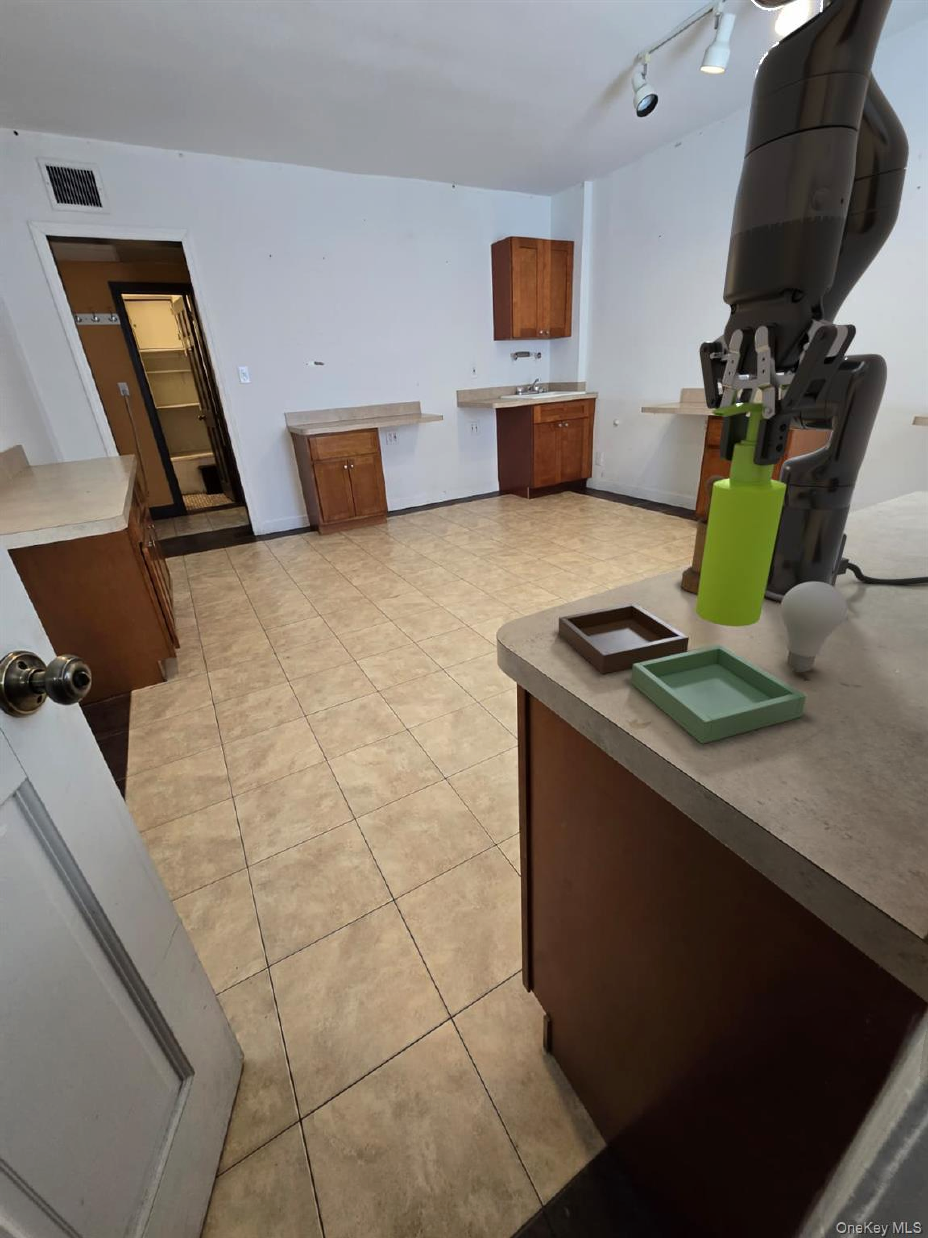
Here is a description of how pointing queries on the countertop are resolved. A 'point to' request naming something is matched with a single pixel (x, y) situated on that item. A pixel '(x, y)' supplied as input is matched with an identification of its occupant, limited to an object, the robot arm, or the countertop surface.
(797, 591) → the lightbulb
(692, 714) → the green tray
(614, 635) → the walnut tray
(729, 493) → the soap dispenser
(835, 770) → the countertop surface
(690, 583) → the wooden pepper mill
